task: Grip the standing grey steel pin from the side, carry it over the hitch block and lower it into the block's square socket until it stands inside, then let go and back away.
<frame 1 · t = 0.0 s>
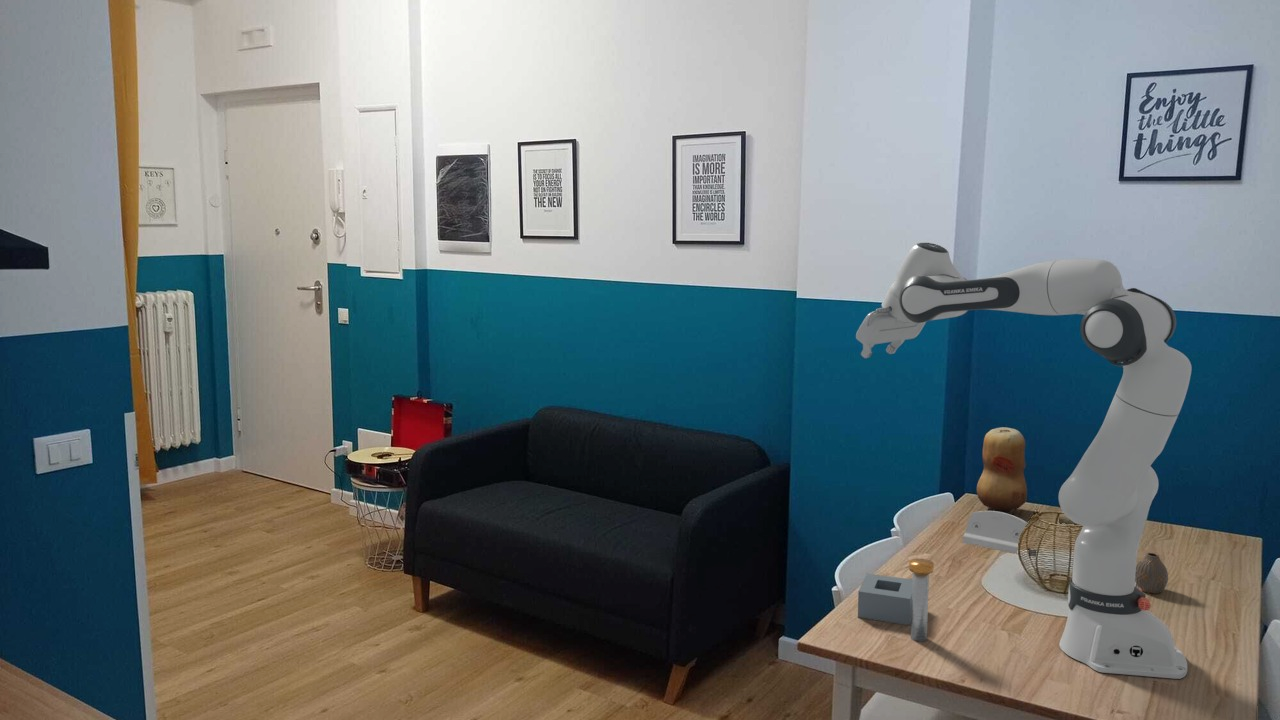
hand: (877, 354, 219), 54 cm above the table, tool tilted 30°, fingers open, 8 cm apart
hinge: (996, 546, 244), on the table
vase: (1149, 591, 213), on the table
hitch block: (887, 611, 204), on the table
lynch pin: (918, 638, 190), on the table
butternut squash: (1000, 511, 271), on the table
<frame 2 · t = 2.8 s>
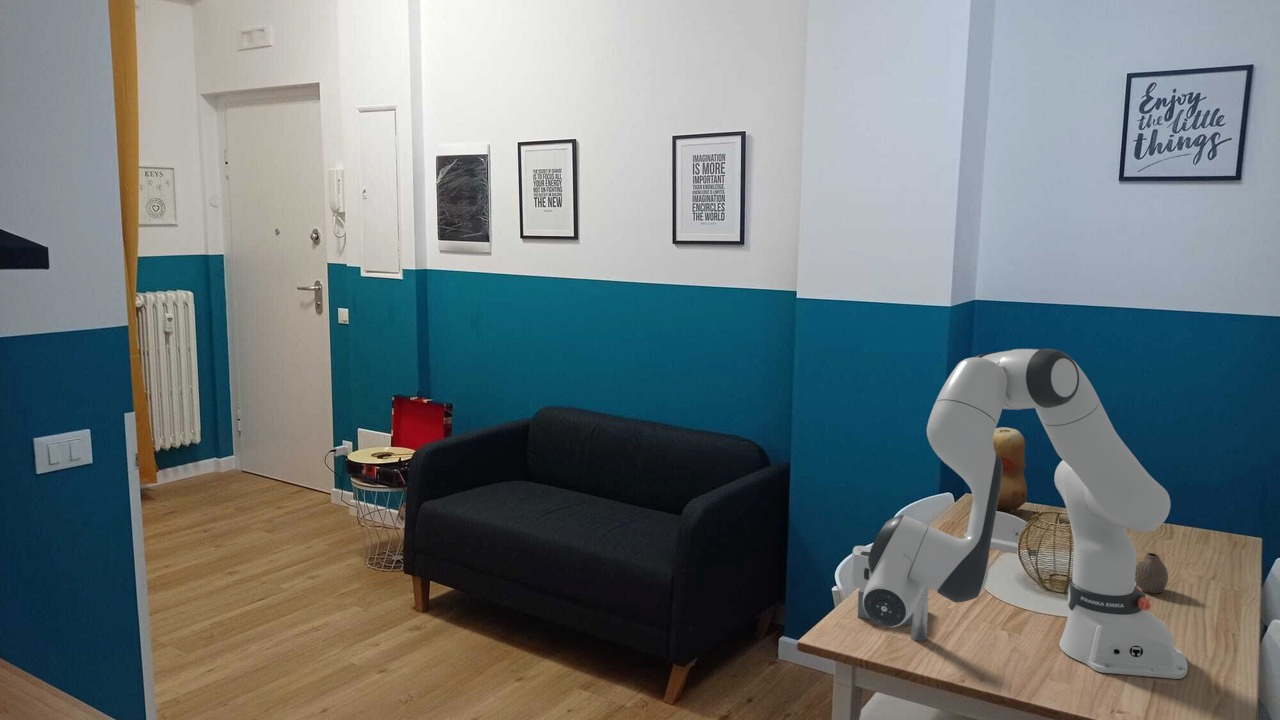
hand: (912, 554, 177), 22 cm above the table, tool horizontal, fingers open, 8 cm apart
nothing on the table moved.
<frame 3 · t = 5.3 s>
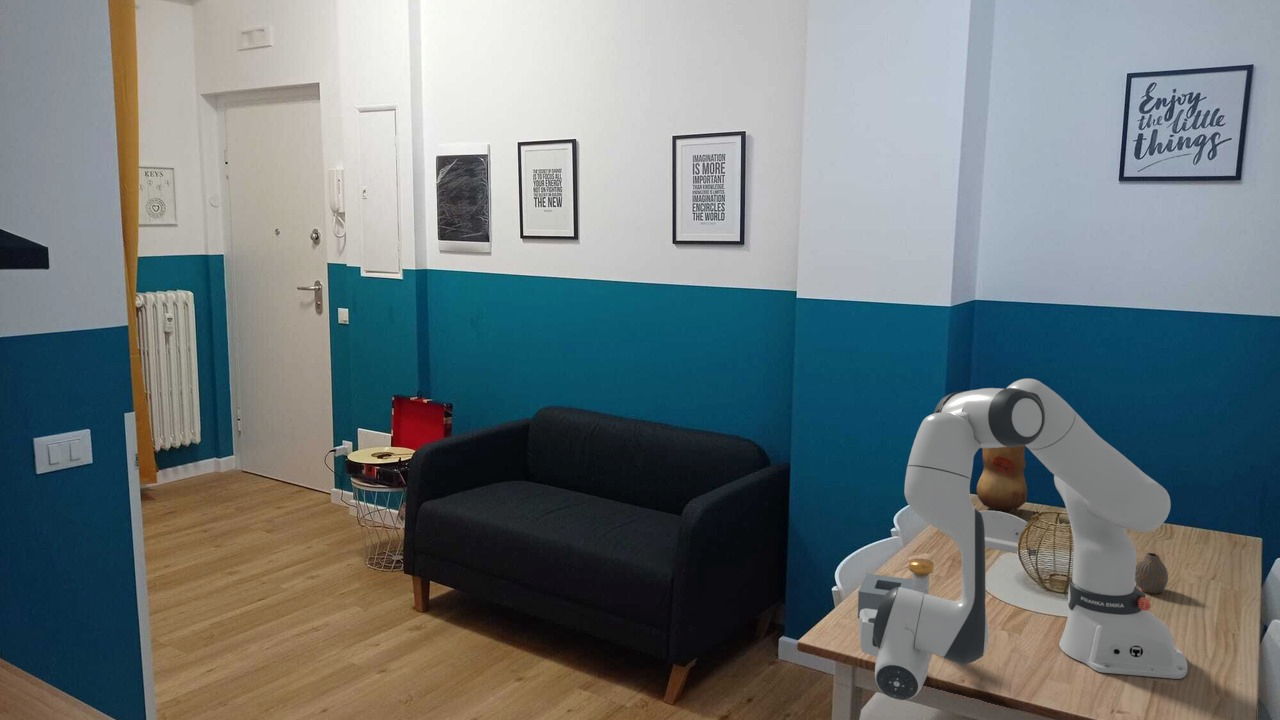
hand: (916, 613, 182), 9 cm above the table, tool horizontal, fingers open, 8 cm apart
nothing on the table moved.
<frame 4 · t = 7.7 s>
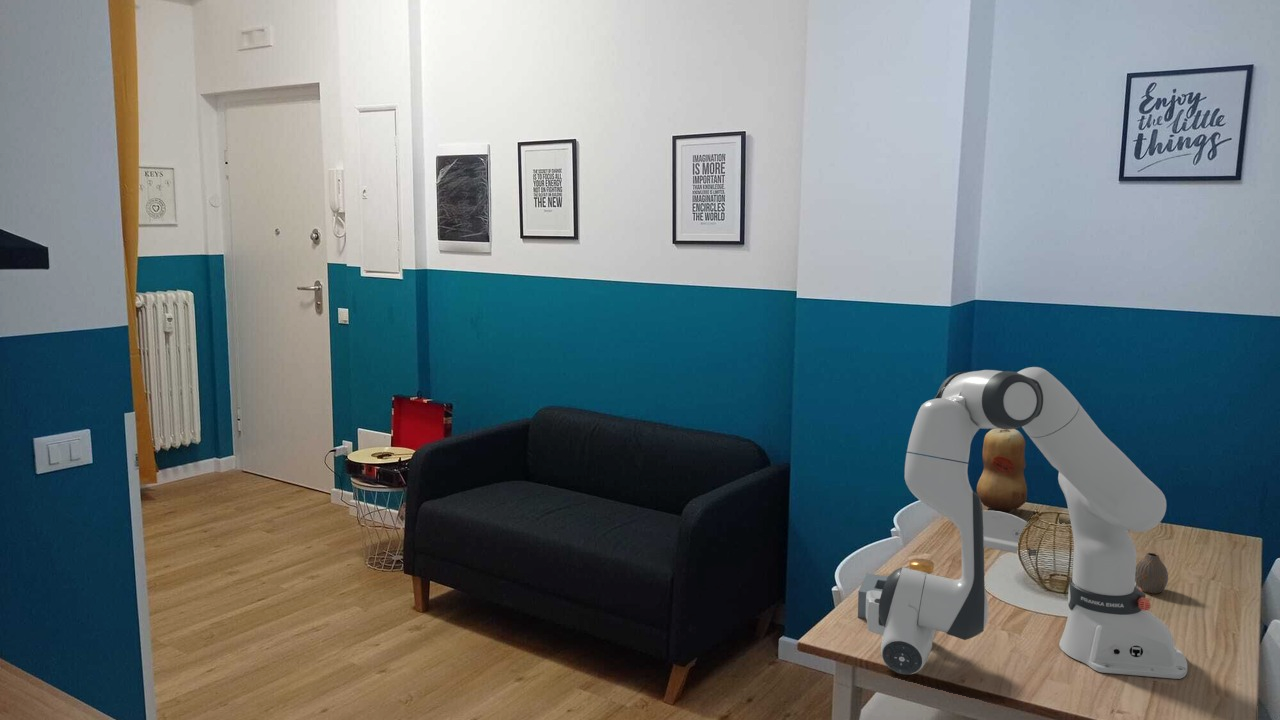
hand: (920, 595, 190), 9 cm above the table, tool horizontal, fingers closed on lynch pin, 3 cm apart
lynch pin: (918, 638, 190), on the table, touching gripper
everything else where it was.
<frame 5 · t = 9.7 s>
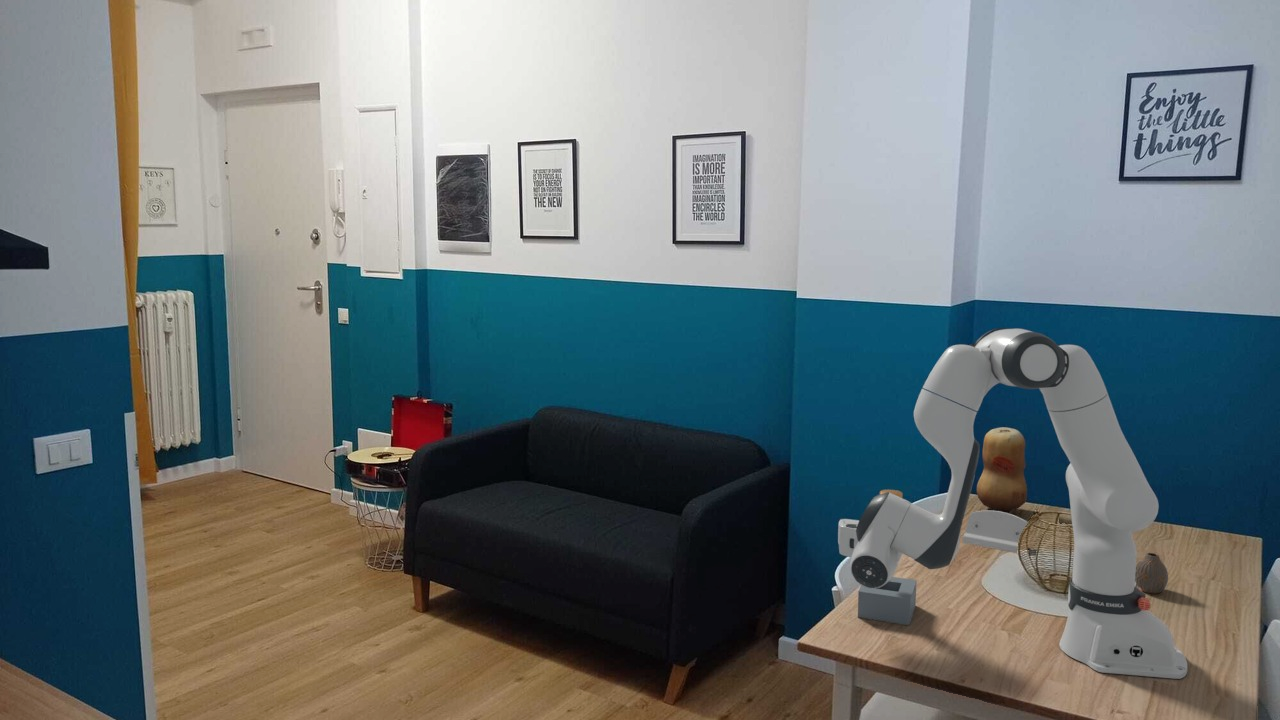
hand: (890, 524, 201), 20 cm above the table, tool horizontal, fingers closed on lynch pin, 3 cm apart
lynch pin: (888, 565, 201), point 11 cm above the table, touching gripper
everything else where it was.
when the fingers open (11 cm above the table, at t = 12.1 s): lynch pin drops 2 cm, resting in hitch block.
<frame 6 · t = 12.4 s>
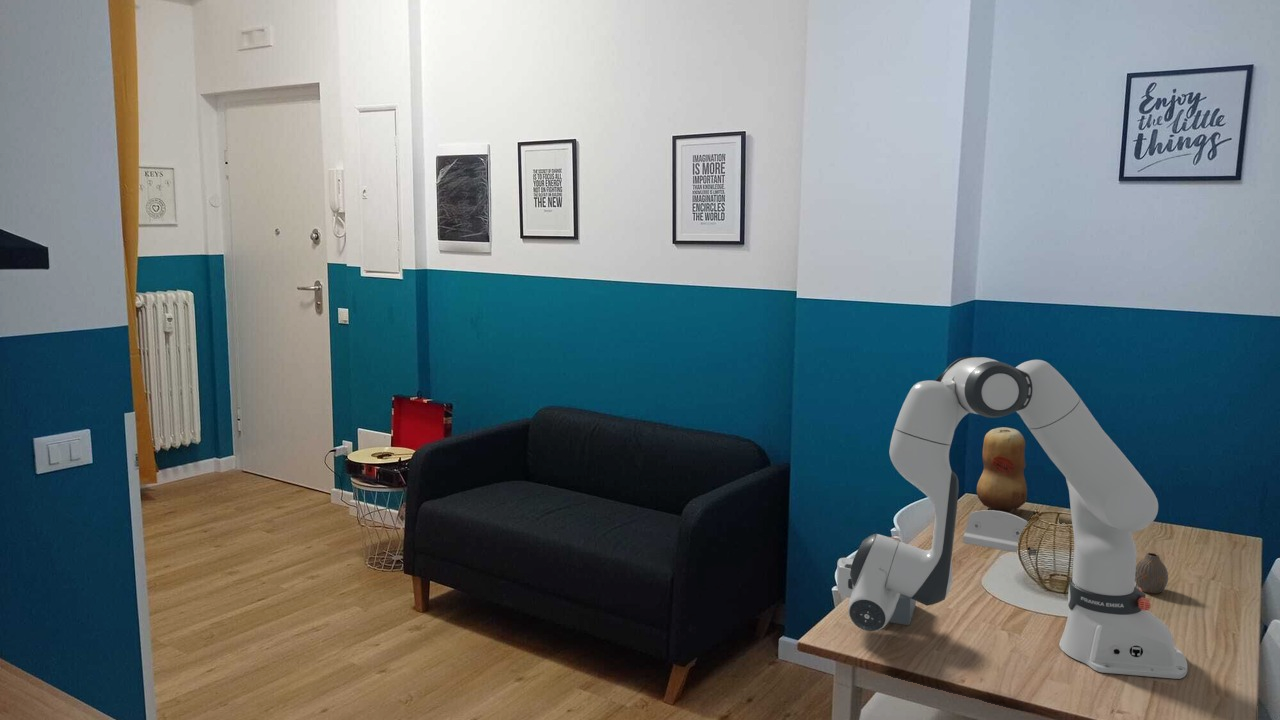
hand: (889, 562, 203), 11 cm above the table, tool horizontal, fingers open, 5 cm apart
lynch pin: (887, 611, 203), resting in hitch block
everything else where it was.
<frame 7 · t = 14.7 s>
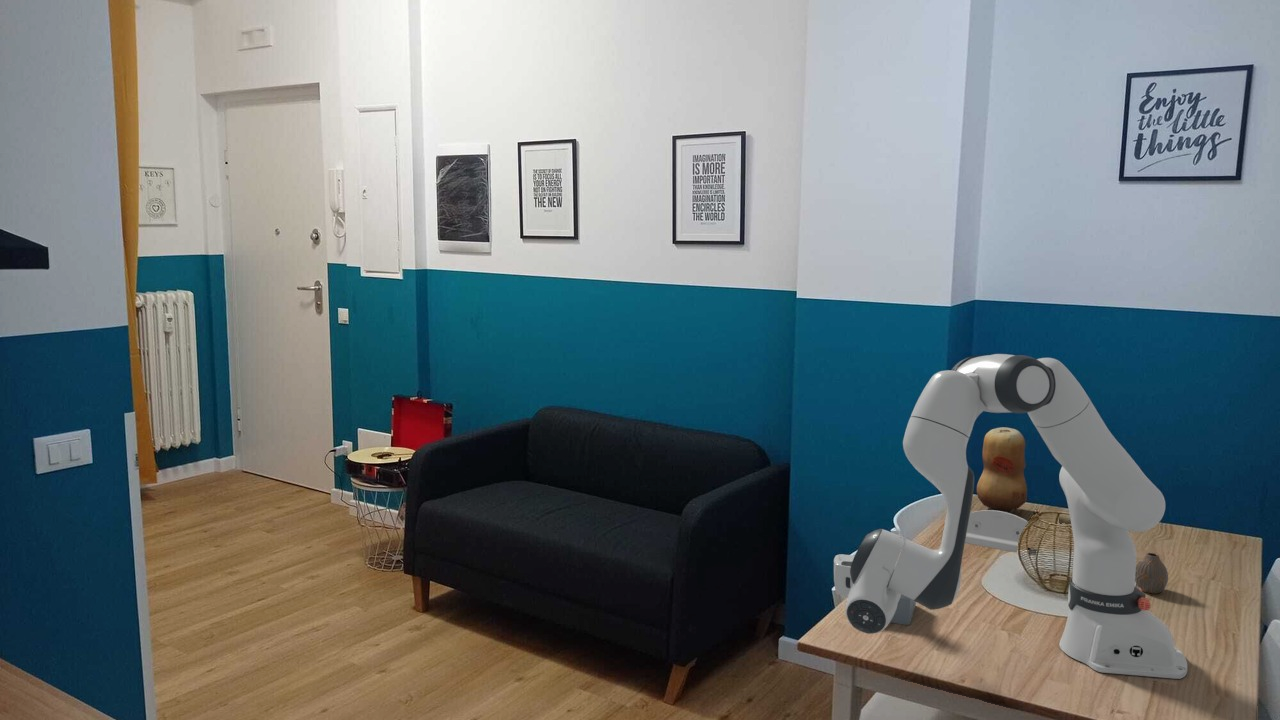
hand: (889, 558, 189), 17 cm above the table, tool horizontal, fingers open, 8 cm apart
nothing on the table moved.
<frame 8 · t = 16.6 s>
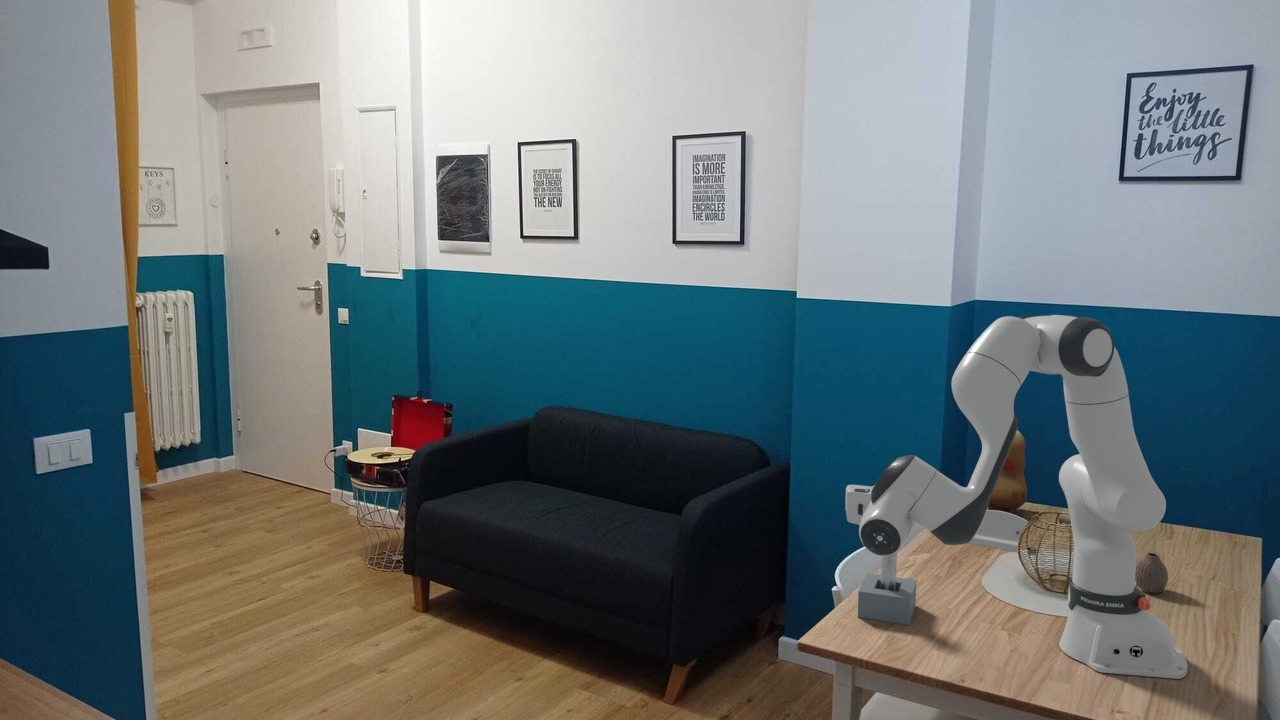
hand: (902, 490, 185), 32 cm above the table, tool horizontal, fingers open, 8 cm apart
nothing on the table moved.
at the end: lynch pin 0.1 cm off-centre on the hitch block, point 0.0 cm above the hitch block's base; lynch pin tilted 0°; the gripper is holding nothing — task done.
